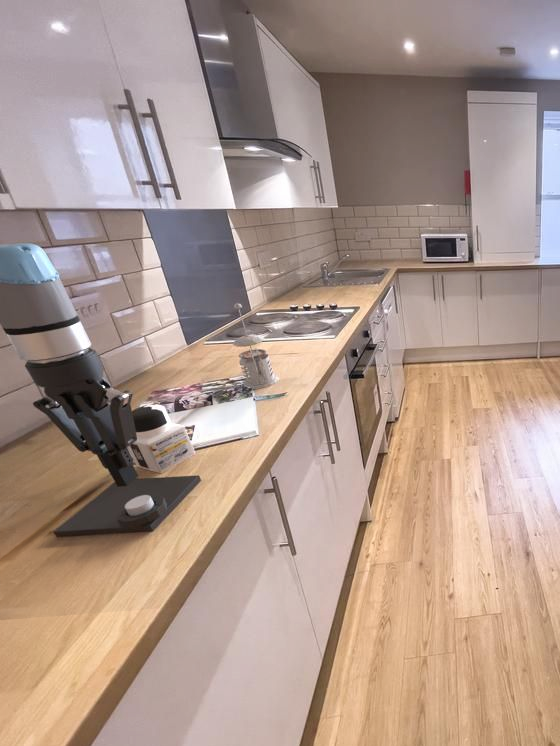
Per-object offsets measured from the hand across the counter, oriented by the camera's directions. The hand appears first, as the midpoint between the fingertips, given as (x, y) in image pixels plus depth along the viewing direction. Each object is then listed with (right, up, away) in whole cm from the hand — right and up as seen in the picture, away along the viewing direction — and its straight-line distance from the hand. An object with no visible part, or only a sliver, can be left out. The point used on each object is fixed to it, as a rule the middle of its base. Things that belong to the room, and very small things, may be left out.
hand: (128, 481), depth 71 cm
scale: (-5, -7, +7) cm, 11 cm away
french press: (-12, +17, +57) cm, 60 cm away
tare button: (0, -6, +3) cm, 6 cm away
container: (-11, 0, +21) cm, 23 cm away
